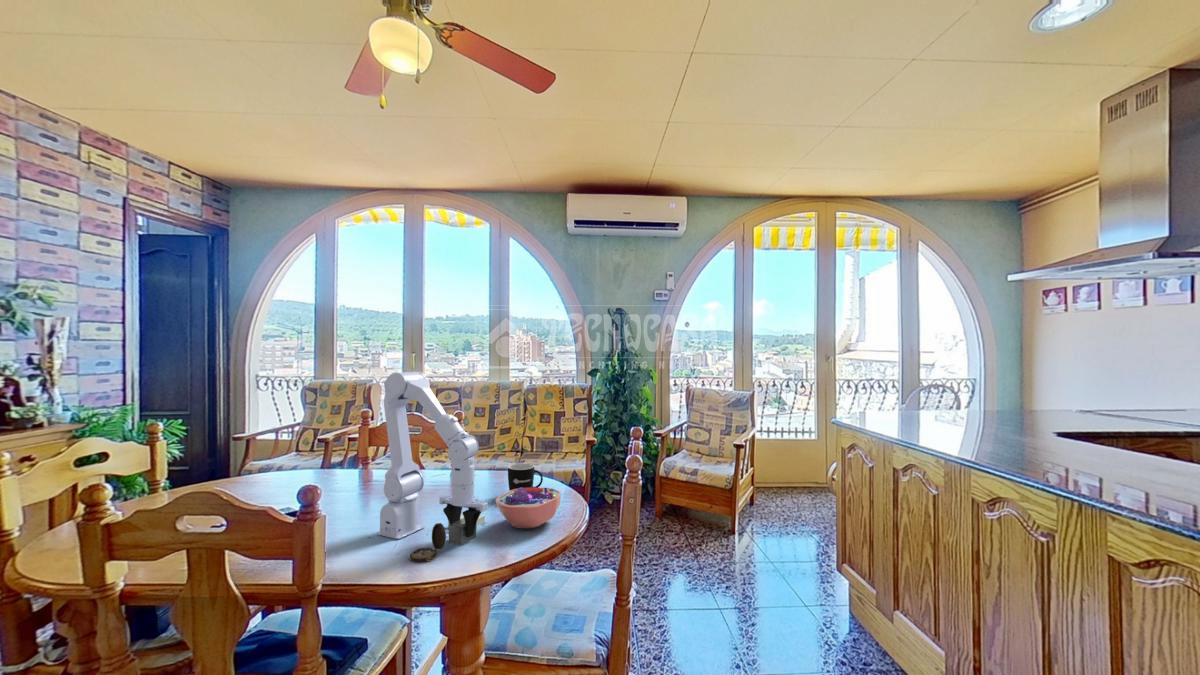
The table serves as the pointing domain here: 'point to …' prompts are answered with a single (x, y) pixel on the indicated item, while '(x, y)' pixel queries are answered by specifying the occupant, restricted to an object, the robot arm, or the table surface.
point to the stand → (479, 521)
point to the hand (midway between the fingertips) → (462, 534)
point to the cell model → (529, 506)
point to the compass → (438, 543)
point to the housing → (459, 533)
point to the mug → (522, 476)
